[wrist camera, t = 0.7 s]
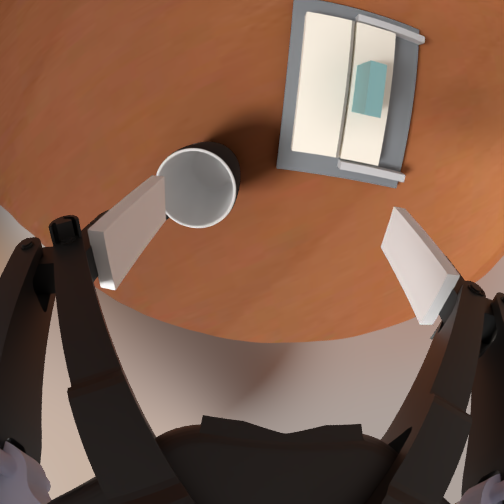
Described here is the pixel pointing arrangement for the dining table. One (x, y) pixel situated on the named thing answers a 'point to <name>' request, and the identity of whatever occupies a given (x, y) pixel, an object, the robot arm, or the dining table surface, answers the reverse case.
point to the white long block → (368, 94)
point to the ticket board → (394, 103)
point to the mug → (200, 184)
